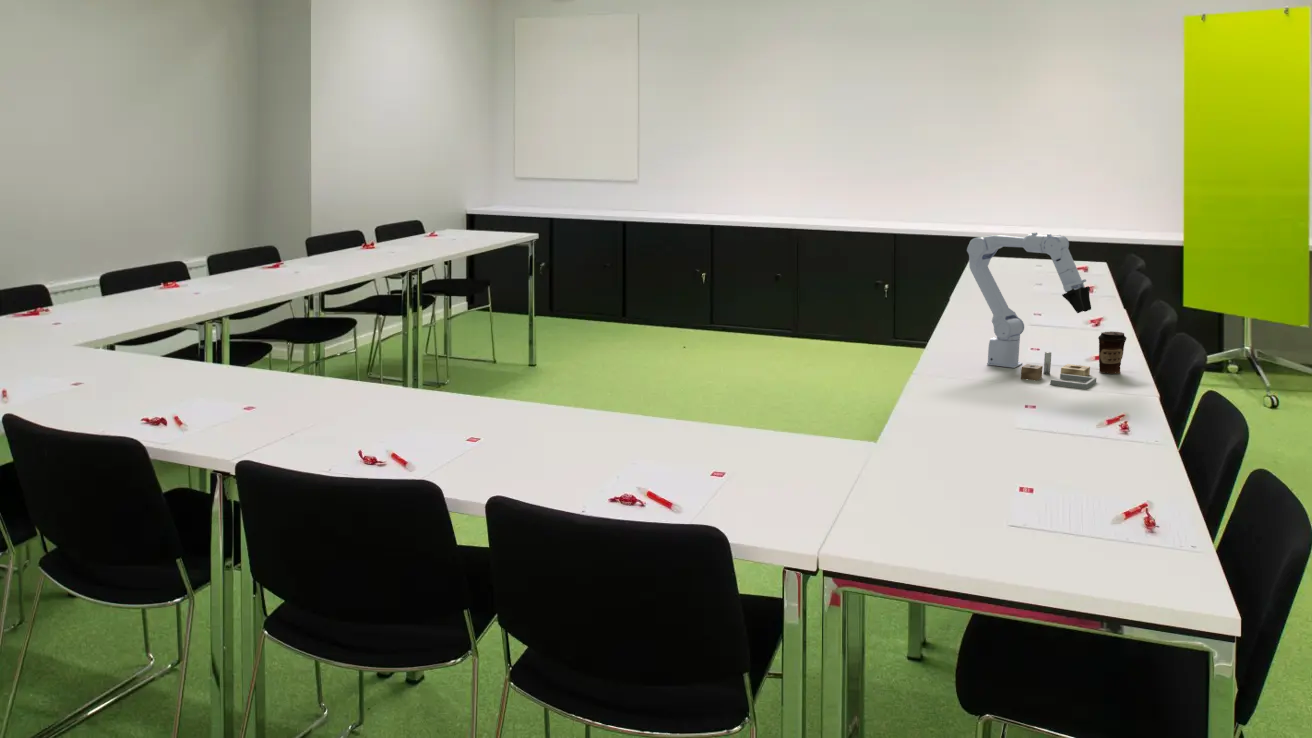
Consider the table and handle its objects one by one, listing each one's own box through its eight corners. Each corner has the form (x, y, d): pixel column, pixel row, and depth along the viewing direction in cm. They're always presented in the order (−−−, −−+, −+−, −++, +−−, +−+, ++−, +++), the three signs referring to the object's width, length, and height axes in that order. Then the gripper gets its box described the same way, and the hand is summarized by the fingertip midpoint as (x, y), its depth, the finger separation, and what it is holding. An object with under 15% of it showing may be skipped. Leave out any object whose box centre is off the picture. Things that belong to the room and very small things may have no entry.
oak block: (1060, 375, 348) (1061, 367, 347) (1067, 371, 353) (1067, 363, 352) (1083, 378, 343) (1083, 370, 343) (1089, 374, 349) (1090, 366, 348)
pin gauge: (1042, 374, 350) (1044, 352, 349) (1044, 372, 352) (1046, 351, 350) (1048, 374, 349) (1050, 353, 348) (1050, 373, 351) (1052, 352, 349)
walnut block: (1020, 379, 344) (1021, 366, 343) (1025, 376, 348) (1026, 363, 347) (1036, 381, 341) (1037, 368, 340) (1041, 378, 345) (1042, 365, 344)
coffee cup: (1126, 376, 346) (1129, 335, 344) (1098, 375, 348) (1101, 335, 345) (1120, 370, 355) (1123, 330, 352) (1093, 369, 356) (1096, 330, 354)
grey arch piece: (1050, 384, 336) (1050, 379, 336) (1060, 378, 344) (1061, 373, 344) (1086, 389, 330) (1086, 384, 329) (1096, 382, 338) (1096, 377, 338)
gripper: (1072, 267, 336) (1090, 307, 334) (1086, 265, 347) (1103, 305, 345) (1051, 276, 340) (1068, 316, 338) (1065, 274, 351) (1082, 313, 349)
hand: (1084, 311), depth 342 cm, fingers open, 7 cm apart
